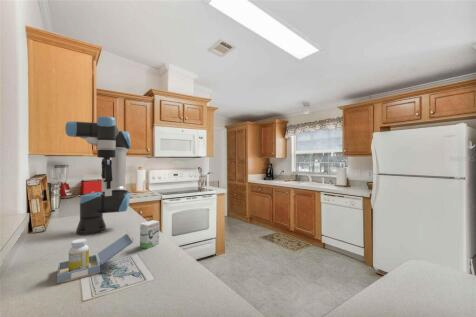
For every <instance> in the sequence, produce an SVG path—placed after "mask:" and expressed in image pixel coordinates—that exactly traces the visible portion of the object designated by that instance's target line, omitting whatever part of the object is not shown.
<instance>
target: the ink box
mask: <svg viewBox="0 0 476 317" xmlns="http://www.w3.org/2000/svg"><path fill="white" fill-rule="evenodd" d="M158 244H160V221H159V220H152V219H151V220H148V221H146V222H141V223H140V226H139V248H142V249H149V248H151V247H153V246H156V245H158Z"/></svg>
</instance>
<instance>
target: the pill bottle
mask: <svg viewBox="0 0 476 317" xmlns="http://www.w3.org/2000/svg"><path fill="white" fill-rule="evenodd" d="M89 256H90V247H89V246H88V244H87V239H86V238H77V239H74V240H72V241H71V248H69V250H68V261H69V272H71V271H75V270H80V269H84V268H88V267H89Z"/></svg>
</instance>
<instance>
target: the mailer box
mask: <svg viewBox="0 0 476 317" xmlns="http://www.w3.org/2000/svg"><path fill="white" fill-rule="evenodd" d="M100 273H101V262H100V259H99V256H98V254H93V255H89V267H88V268H84V269H80V270H75V271H71V272H69V260H65V261H62V262H58V263H57V273H56V275H57V277H56V279H57V280H56V282H57V283H56V284H57V285H58V284H63V283H66V282H70V281H73V280H78V279H81V278H85V277H89V276H93V275H96V274H100Z"/></svg>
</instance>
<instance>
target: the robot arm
mask: <svg viewBox="0 0 476 317" xmlns="http://www.w3.org/2000/svg"><path fill="white" fill-rule="evenodd" d="M96 120H97V121H96V122H91V121H89V122H87V121H86V122H85V121H76V120H75V121H66V123H65V126H64V130H65V131H64V132H65V134H66V135H67V137H69V138H70V137H71V138H72V137H73V138H81V139H83V140H84V141H86V142H87V143H88V144H89V145H92V146H95V147H97V151H96V152H97V153H96V155H97V158H100V159H101V158H102V159H101V176H100V177H101V191H95V192H90V193H85V194H82V195H81V196H80V199H79V221H78V225H77V227H76V228H75V229H76V230H75V234H76V235H77V234H78V236H90V234H91V235H96V233H97V234H100V233H102V231H103V232H104V230H105V231H106V230H107V225H106V223H105V219H104V217H103V216H104V215H103V214H109V213H112V214H113V213H120V212H121V213H124V212H126V211H127V210H128V209H129V206H130V205H129V204H130V199H131V193H130V192H128V189H127V188H126V172H127V171H126V166H127V165H126V164H127V153H128V152H129V149H132V142H131V136H130V132H129V131H123V130H119V129H118V127H117V122H116V118H114V117H113V116H105V115H104V116H103V115H102V116H98V117H97V119H96Z"/></svg>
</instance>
